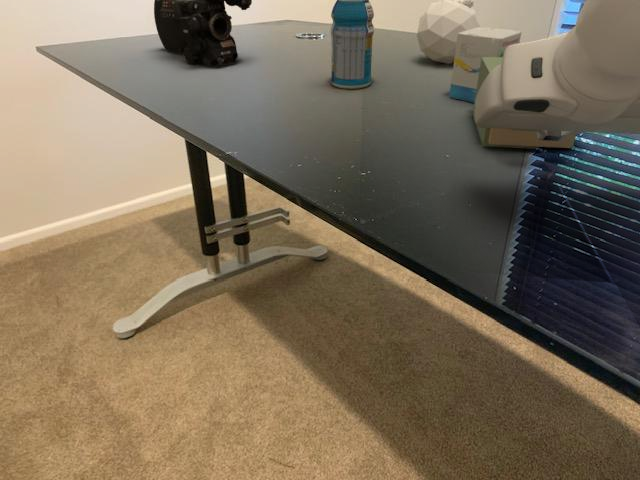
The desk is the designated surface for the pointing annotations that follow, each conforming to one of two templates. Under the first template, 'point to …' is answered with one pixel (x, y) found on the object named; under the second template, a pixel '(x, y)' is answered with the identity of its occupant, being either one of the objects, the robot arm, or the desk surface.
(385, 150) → the desk surface
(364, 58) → the beverage bottle
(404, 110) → the desk surface
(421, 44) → the geodesic sphere
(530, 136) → the drawer
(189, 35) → the movie camera
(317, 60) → the desk surface
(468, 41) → the ink box
